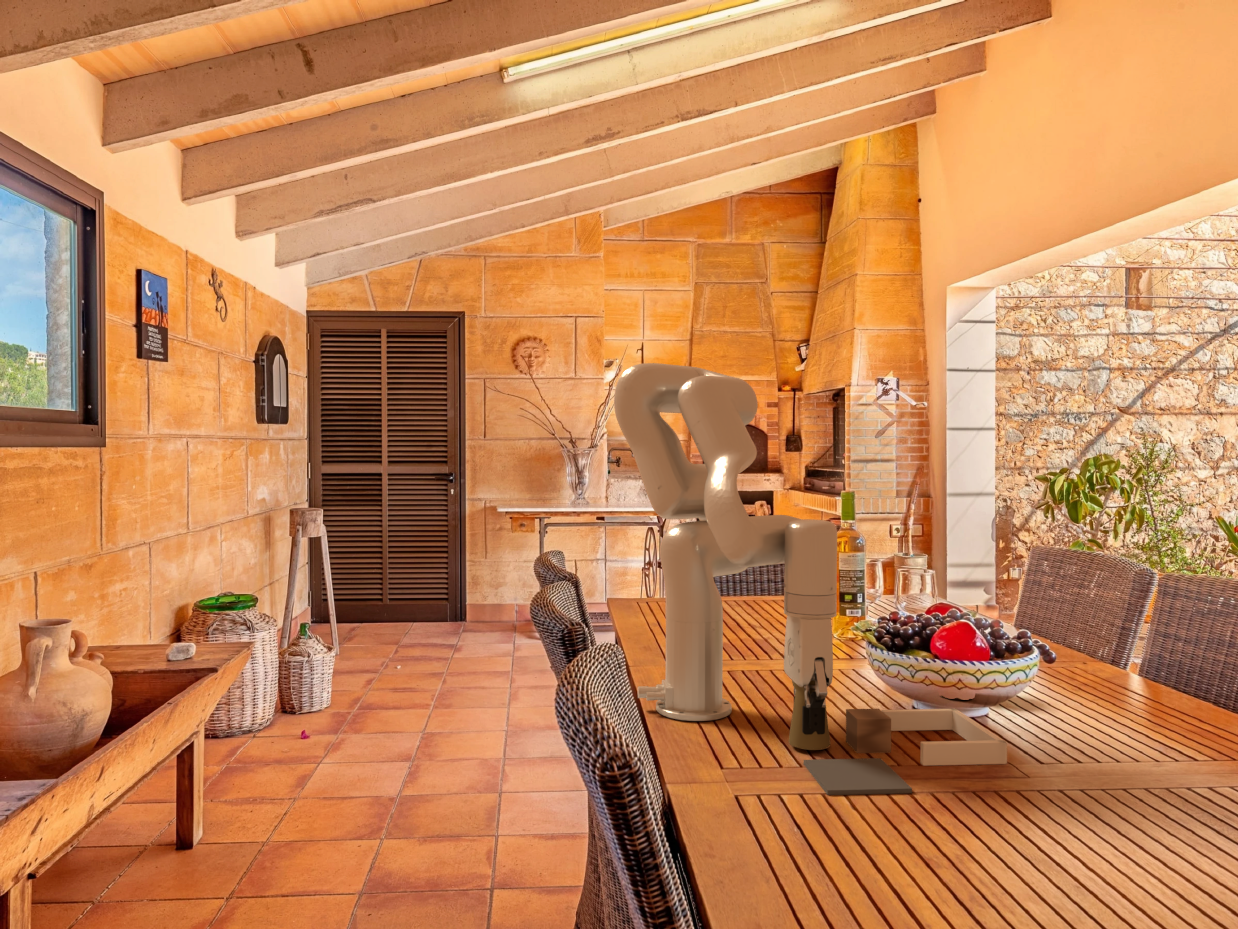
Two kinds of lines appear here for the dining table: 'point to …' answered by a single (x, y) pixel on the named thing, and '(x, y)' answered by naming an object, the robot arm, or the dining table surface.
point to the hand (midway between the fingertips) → (808, 727)
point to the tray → (973, 751)
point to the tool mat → (856, 776)
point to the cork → (796, 734)
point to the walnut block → (868, 730)
